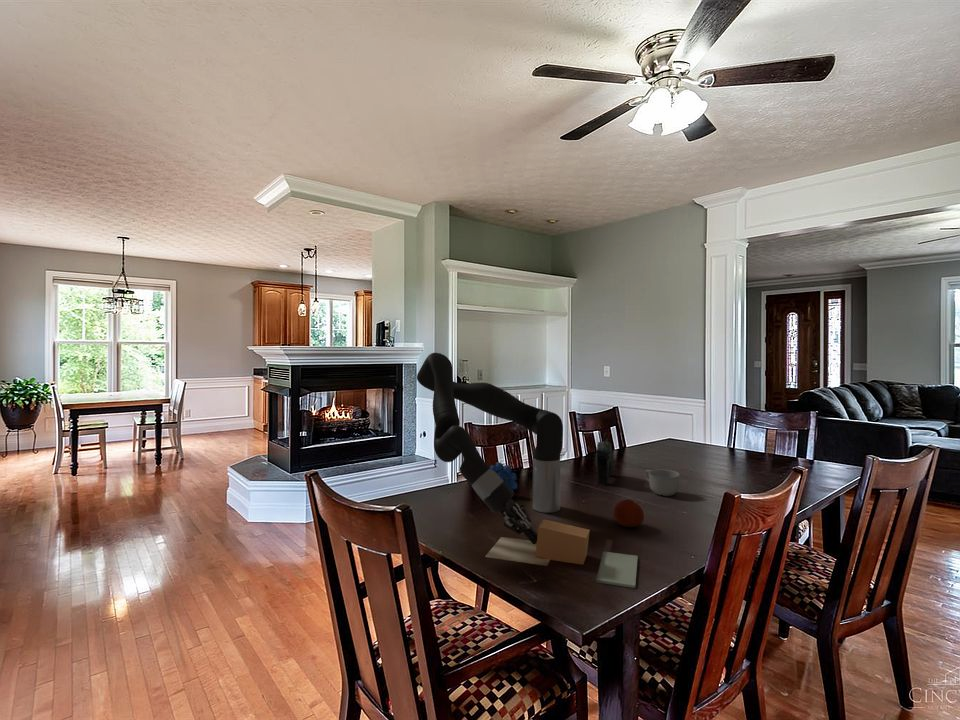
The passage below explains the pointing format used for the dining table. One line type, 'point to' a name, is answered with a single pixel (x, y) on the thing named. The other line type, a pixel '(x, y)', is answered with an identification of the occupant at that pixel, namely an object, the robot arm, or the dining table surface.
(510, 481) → the grapes
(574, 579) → the dining table surface
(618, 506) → the fruit
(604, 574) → the mat
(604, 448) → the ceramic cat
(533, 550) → the board
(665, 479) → the teacup
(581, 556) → the block
